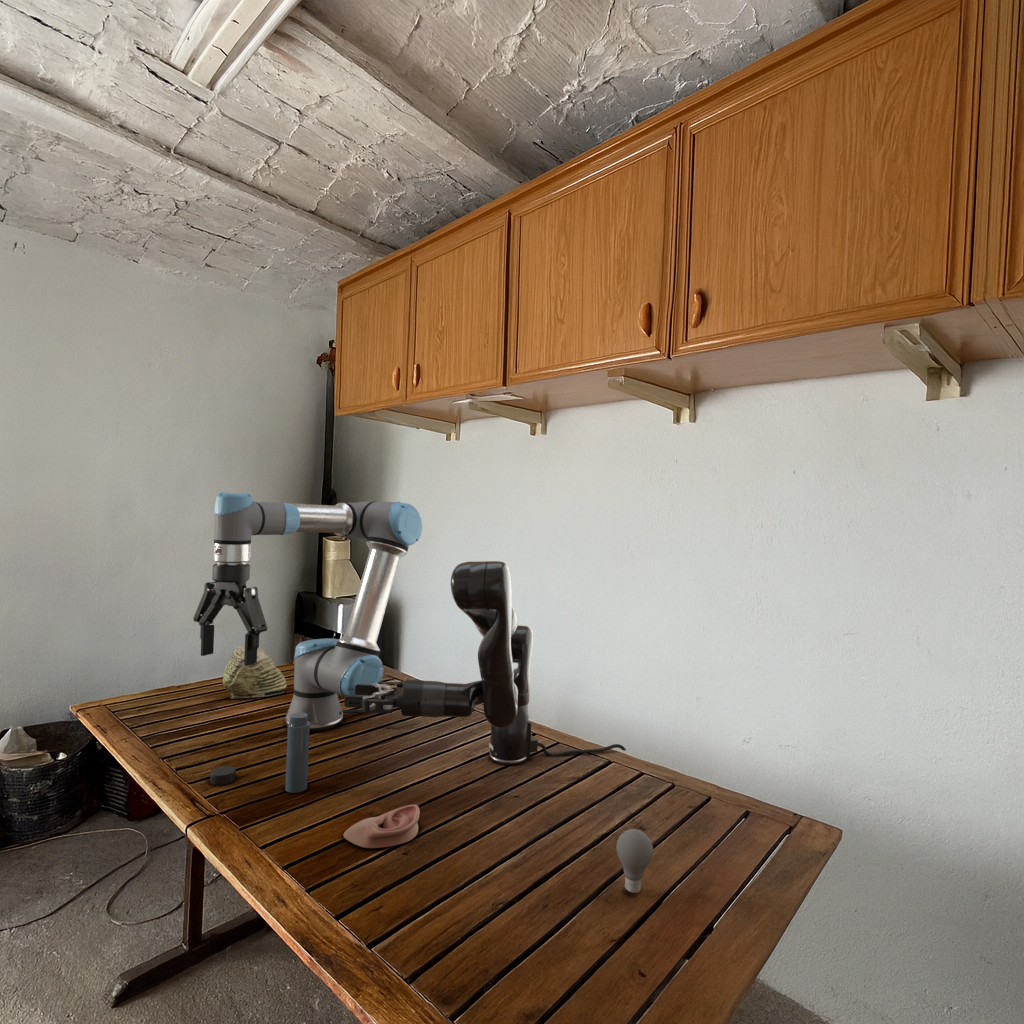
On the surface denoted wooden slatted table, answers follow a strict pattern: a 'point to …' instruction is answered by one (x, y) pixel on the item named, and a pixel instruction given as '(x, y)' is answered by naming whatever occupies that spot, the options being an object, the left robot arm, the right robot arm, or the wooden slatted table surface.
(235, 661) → the fossil
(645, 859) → the light bulb
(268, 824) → the wooden slatted table surface
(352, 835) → the anatomical model
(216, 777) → the lid
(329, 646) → the left robot arm
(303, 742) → the blue-grey cylindrical bottle
